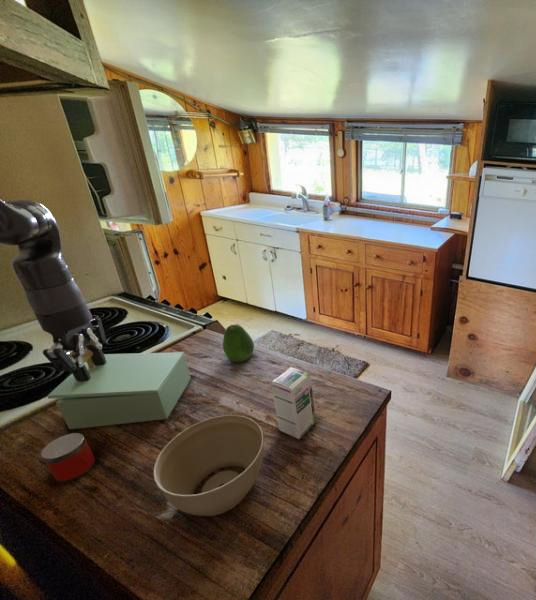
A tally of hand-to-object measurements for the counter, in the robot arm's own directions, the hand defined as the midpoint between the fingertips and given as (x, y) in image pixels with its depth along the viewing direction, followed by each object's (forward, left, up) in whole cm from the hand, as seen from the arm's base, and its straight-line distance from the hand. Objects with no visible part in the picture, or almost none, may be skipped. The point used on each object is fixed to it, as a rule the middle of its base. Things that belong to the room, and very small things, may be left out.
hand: (92, 371), depth 72 cm
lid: (+6, 0, -1) cm, 6 cm away
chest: (+6, 0, -10) cm, 12 cm away
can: (+4, -18, -10) cm, 21 cm away
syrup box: (+44, -14, -10) cm, 47 cm away
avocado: (+26, +15, -10) cm, 32 cm away
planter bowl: (+32, -27, -10) cm, 43 cm away
